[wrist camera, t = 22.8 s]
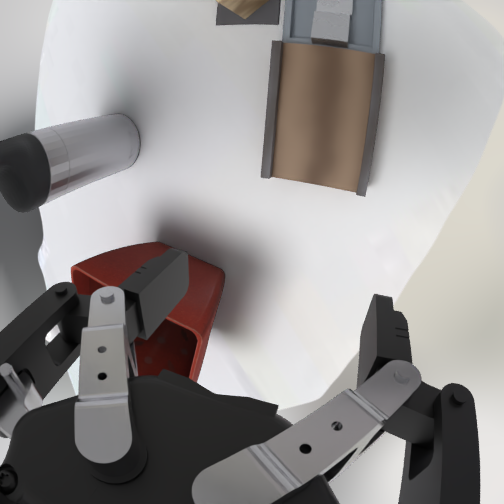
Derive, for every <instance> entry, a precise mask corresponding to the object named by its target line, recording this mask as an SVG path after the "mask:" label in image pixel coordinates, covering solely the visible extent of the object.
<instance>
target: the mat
mask: <svg viewBox="0 0 504 504" xmlns="http://www.w3.org/2000/svg"><path fill="white" fill-rule="evenodd" d="M279 10H280V0H269V1H267V2H266V3H265V4H264V5H262V6H261V7H260V8H259V9H257V10H256V11H255V12H254V13H252V14H251V15H250V16H249V17H248V18H246V19H243V18H242V17H240V16H239V15H237V14H236V13H234V12H233V11H231V10H229V9H228V8H226V7H225V6H223V5H221V4H220V3H218V7H217V18H216V25H236V24H274V25H278V22H279Z"/></svg>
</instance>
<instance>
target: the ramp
mask: <svg viewBox="0 0 504 504" xmlns="http://www.w3.org/2000/svg"><path fill="white" fill-rule="evenodd" d="M384 61H385V54H380V53H375V54H372V53H366V52H361V51H355V50H348V49H342V48H334V47H327V46H318V45H308V44H296V43H283V42H282V41H272V49H271V61H270V73H269V85H268V97H267V109H266V121H265V133H264V145H263V157H262V169H261V177H262V178H268V179H269V178H271V177H276V178H282V179H288V180H294V181H299V182H305V183H311V184H316V185H321V186H327V187H332V188H337V189H342V190H347V191H352V192H356V195H359V196H364V197H365V195H366V190H367V185H368V179H369V174H370V168H371V162H372V156H373V150H374V144H375V138H376V131H377V124H378V116H379V109H380V100H381V92H382V82H383V72H384Z"/></svg>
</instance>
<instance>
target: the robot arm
mask: <svg viewBox="0 0 504 504" xmlns="http://www.w3.org/2000/svg"><path fill="white" fill-rule="evenodd" d="M139 148H140V140H139V134H138V131H137V128H136V126H135V125H134V123H133V122H132V121H131V120H130V119H129V118H128V117H126V116H125V115H122V114H112V115H106V116H100V117H94V118H89V119H83V120H78V121H74V122H69V123H64V124H60V125H56V126H51V127H47V128H44V129H40V130H36V131H32V132H29V133H24V134H21V135H18V136H15V137H12V138H9V139H6V140H3V141H0V192H1V193H2V195H3V197H4V199H5V200H6V201H7V203H8V204H9V205H10V206H11V207H12V208H13V209H15V210H16V211H18V212H29V211H31V210H34V209H36V208H38V207H40V206H41V205H44V204H46V203H48V202H50V201H52V200H54V199H56V198H58V197H60V196H63V195H65V194H67V193H69V192H71V191H74V190H76V189H78V188H81V187H83V186H85V185H88V184H90V183H92V182H95V181H97V180H100V179H102V178H105V177H107V176H110V175H112V174H115V173H117V172H120V171H123V170H125V169H127V168H129V167H130V166H131V165H133V163H134V162H135V161H136V158H137V156H138V153H139ZM188 286H189V266H188V254H187V252H186V251H181V250H177V249H173V248H170V249H168V250H167V251H166V252H165V253H164V254H162V255H161V256H160V257H159V256H157V257H155V258H152V259H150V260H148V261H147V262H145V263H144V264H143V265H142V266H141V268H138V269H137V270H136V271H135V272H134V273H133V274H131V275H130V276H129V277H128V278H127V279H126V280H125V281H123V282H122V283H121V284H120V285H119V286H118V287H114V286H107V287H103V288H100V289H98V290H96V291H95V292H94V293H93V294H92V295H82V294H78V292H77V288H76V286H75V284H73V283H70V282H61V283H58V284H55V285H53V286H52V287H51V288H49V289H48V290H47V291H46V292H45V293H43V295H41V296H40V297H39V298H38V299H36V300H35V301H34V302H33V303H32V304H31V305H30V306H28V307H27V308H26V309H25V310H24V311H23V312H22V313H21V314H19V315H18V316H17V317H16V318H15V319H14V320H13V321H12V322H11V323H10V324H8V325H7V326H6V327H5V328H4V329H3V330H2V331H1V332H0V436H1V437H4V438H10V439H11V441H10V445H9V449H8V452H7V455H6V457H5V459H4V461H3V463H2V465H1V466H0V504H339V502H338V500H337V498H336V496H335V495H334V493H333V491H332V489H331V488H330V486H329V483H330V482H332V481H333V480H334V479H336V478H337V477H338V476H339V475H340V474H341V473H343V472H344V471H345V470H346V469H347V468H348V467H349V466H350V465H351V464H352V463H353V462H354V461H355V460H356V459H358V457H360V456H361V455H362V454H363V453H364V452H365V451H367V450H368V449H369V448H370V447H371V446H372V445H373V444H374V443H375V442H376V441H377V440H378V439H379V438H380V437H382V435H384V434H385V433H386V432H388V433H390V434H393V435H395V436H397V437H399V438H402V439H404V440H406V448H405V458H404V468H403V476H402V483H401V490H400V497H399V502H398V504H480V457H479V441H478V429H477V419H476V411H475V403H474V398H473V396H472V394H471V392H470V391H469V390H468V389H467V388H466V387H464V386H462V385H460V384H455V383H451V384H448V385H446V386H445V387H444V388H443V389H442V390H439V389H437V388H435V387H432V386H430V385H428V384H426V383H424V382H423V381H422V380H421V374H420V372H419V370H418V369H417V368H416V367H415V366H414V365H412V356H411V347H410V340H409V332H408V324H407V320H406V318H405V317H404V315H403V314H402V312H399V311H394V309H393V300H392V297H388V296H383V295H378V294H374V295H373V298H372V301H371V304H370V306H369V309H368V312H367V315H366V318H365V321H364V324H363V327H362V331H361V336H360V351H359V367H358V378H357V389H356V390H354V391H352V390H351V389H346V390H344V391H343V392H341V393H340V394H339V395H337V396H336V397H334V398H333V399H332V400H330V401H329V402H327V403H326V404H325V405H323V406H322V407H320V408H319V409H317V410H316V411H314V412H313V413H311V414H310V415H308V416H307V417H305V418H304V419H302V420H301V421H299V422H298V423H296V424H294V425H293V424H291V423H290V422H289V421H288V420H286V419H285V418H283V417H281V416H280V415H278V414H276V413H277V409H278V405H276V404H272V403H268V402H264V401H260V400H257V399H253V398H250V397H241V396H230V395H220V394H215V393H212V392H211V391H209V390H207V389H206V388H204V387H203V386H201V385H199V384H198V383H196V382H195V381H193V380H191V379H190V378H187V377H185V376H182V375H179V374H176V373H174V372H171V371H168V370H166V369H163V370H162V371H161V372H160V374H159V375H158V376H155V375H142V376H138V369H137V361H136V352H135V344H134V339H135V338H136V337H140V338H142V339H145V340H148V338H149V337H150V336H151V335H152V334H153V332H154V331H155V330H156V329H157V328H158V326H159V325H160V324H161V323H162V322H163V320H164V319H165V318H166V317H167V316H168V315H169V313H170V312H171V311H172V310H173V309H174V307H175V306H176V305H177V304H178V303H179V301H180V300H181V299H182V298H183V297H184V296H185V294H186V292H187V290H188ZM56 325H58V328H59V331H60V332H59V333H58V334H57V335H56V336H55V337H54V338H53V340H52V341H51V342H50V343H49V344H48V345H47V346H46V345H45V338H46V335H47V334H48V333H49V332H50V331H51V330H52V329H53V328H54V327H55V326H56ZM79 356H80V367H79V394H78V395H77V396H74V397H71V398H67V399H64V400H61V401H58V402H54V403H51V404H48V405H44V406H42V403H43V399H44V398H45V397H46V395H47V394H48V393H49V392H50V390H51V389H52V388H53V387H54V386H55V384H56V383H57V382H58V381H59V379H60V378H61V377H62V376H63V374H64V373H65V372H66V371H67V370H68V369H69V367H70V366H71V365H72V364H73V363H74V362H75V360H76V359H77V358H78V357H79Z"/></svg>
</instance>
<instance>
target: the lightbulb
mask: <svg viewBox="0 0 504 504" xmlns="http://www.w3.org/2000/svg"><path fill="white" fill-rule="evenodd" d="M59 332H60V331H59V328H58V325H56V326H55V327H54V328H53V329H52V330H51V331H50V332H49V333H48V334H47V335H46V338H45V339H46V340H47V341H48V342H51V341H52V340H53V338H54V337H55V336H56V335H57V334H58V333H59Z"/></svg>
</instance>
